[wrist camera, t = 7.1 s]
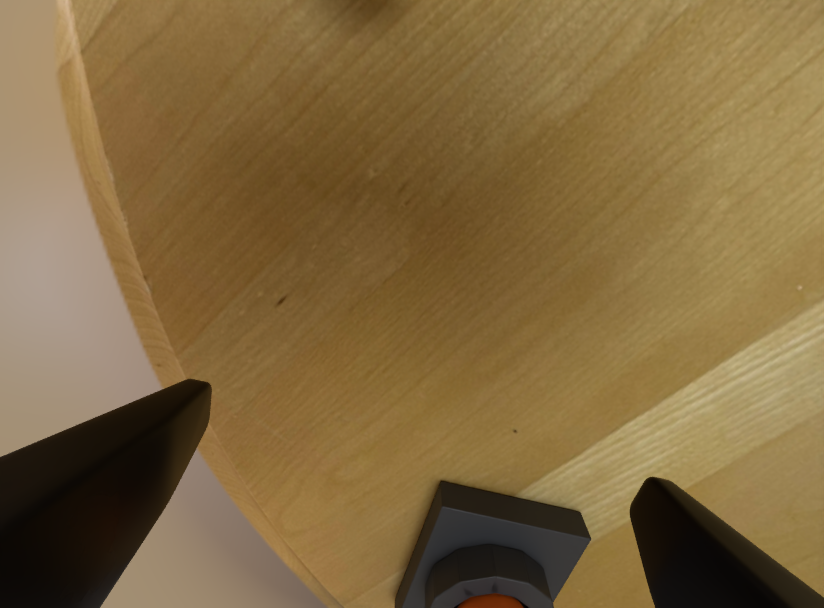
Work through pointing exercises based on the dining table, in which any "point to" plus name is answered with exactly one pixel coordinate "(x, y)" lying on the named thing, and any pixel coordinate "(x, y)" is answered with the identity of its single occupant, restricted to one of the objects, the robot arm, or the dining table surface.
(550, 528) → the button box
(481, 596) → the button
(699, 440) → the dining table surface
